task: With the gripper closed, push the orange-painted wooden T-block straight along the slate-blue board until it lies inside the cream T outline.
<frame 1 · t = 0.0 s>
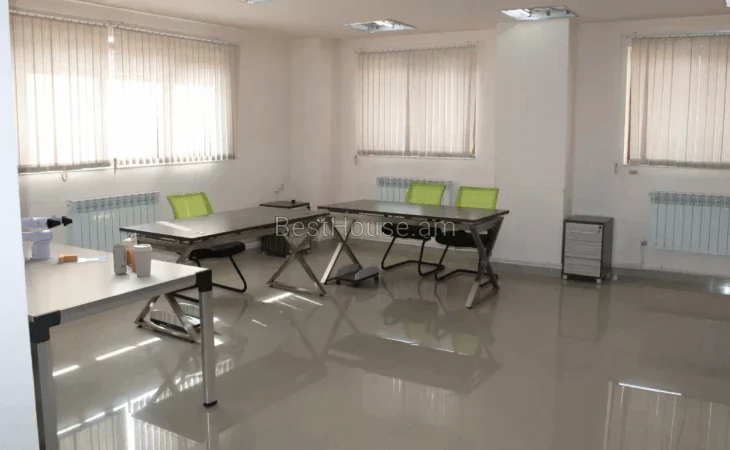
hand: (66, 222, 355), 22 cm above the table, tool horizontal, fingers open, 7 cm apart
energy drink can: (120, 274, 330), on the table
board: (80, 261, 360), on the table
t block: (68, 260, 358), resting on board
coffee cup: (143, 275, 327), on the table
arch: (134, 268, 344), on the table
ink cartridge box: (130, 260, 364), on the table
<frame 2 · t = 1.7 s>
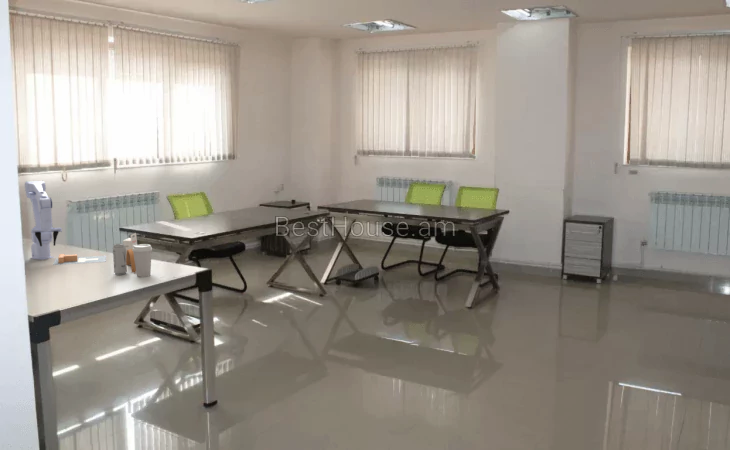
hand: (47, 245, 353), 9 cm above the table, tool pointing down, fingers open, 6 cm apart
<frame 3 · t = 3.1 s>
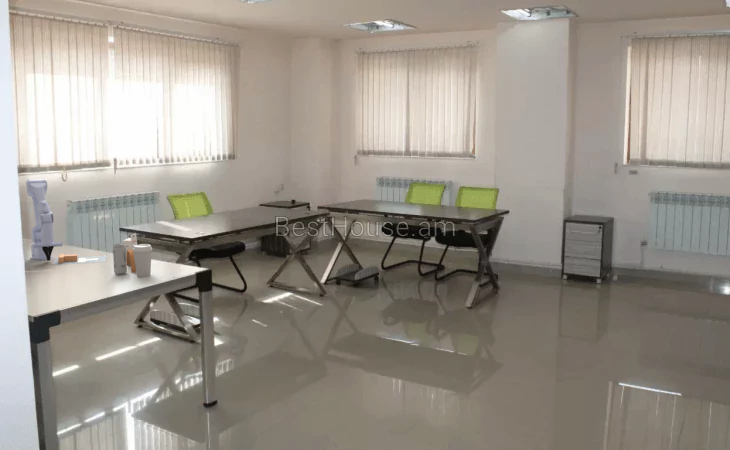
hand: (48, 260, 354), 1 cm above the table, tool pointing down, fingers closed
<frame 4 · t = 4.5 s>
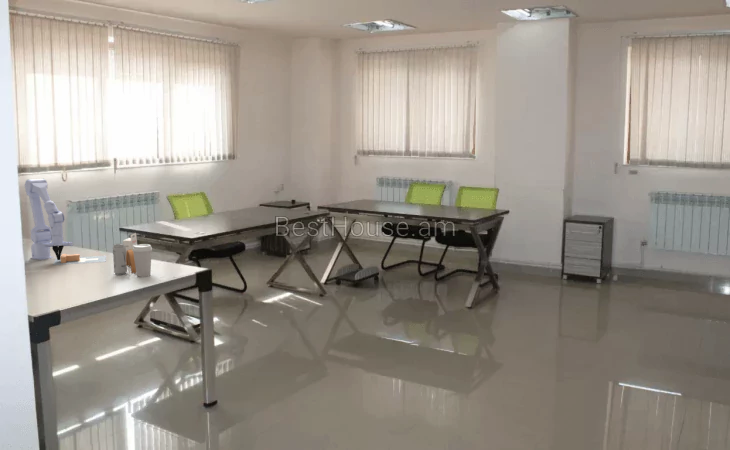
hand: (58, 259, 356), 1 cm above the table, tool pointing down, fingers closed
t block: (70, 260, 358), point 1 cm above the table
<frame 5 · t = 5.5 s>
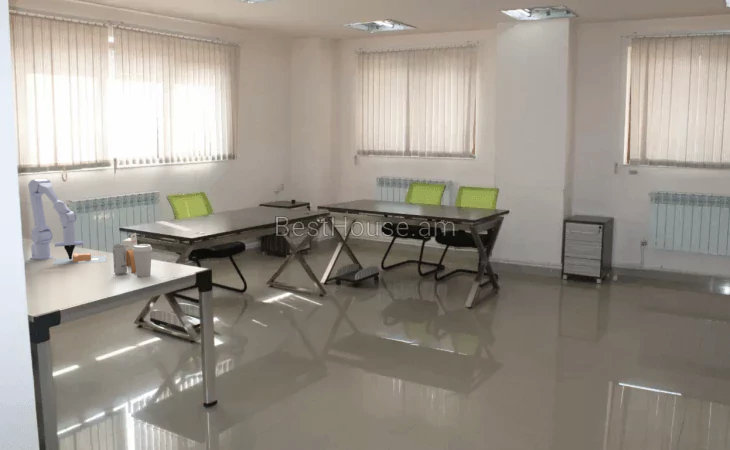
hand: (70, 259, 358), 1 cm above the table, tool pointing down, fingers closed
t block: (82, 259, 361), point 1 cm above the table, touching board, gripper
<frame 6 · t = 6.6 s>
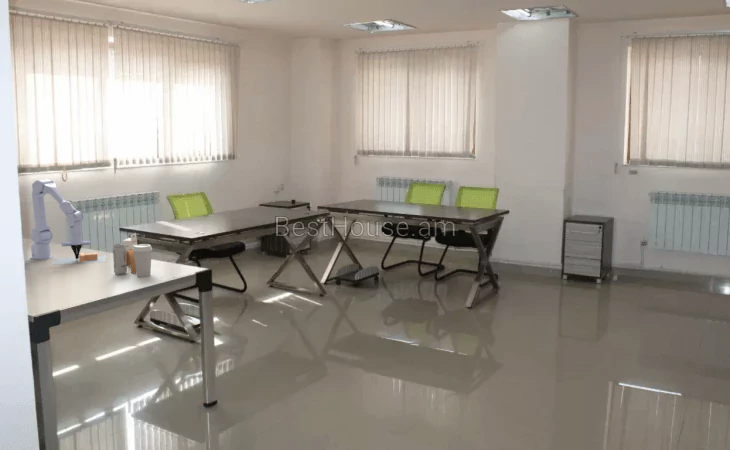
hand: (77, 258, 359), 1 cm above the table, tool pointing down, fingers closed
t block: (88, 259, 362), point 1 cm above the table, touching gripper
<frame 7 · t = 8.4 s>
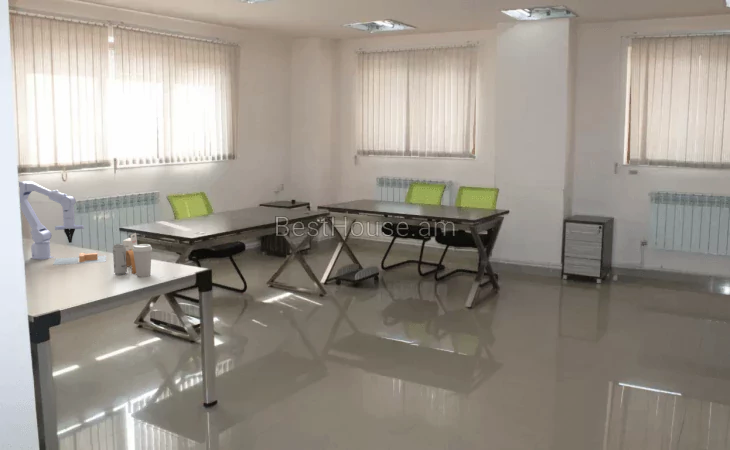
hand: (70, 242, 364), 9 cm above the table, tool pointing down, fingers closed
t block: (88, 259, 362), resting on board
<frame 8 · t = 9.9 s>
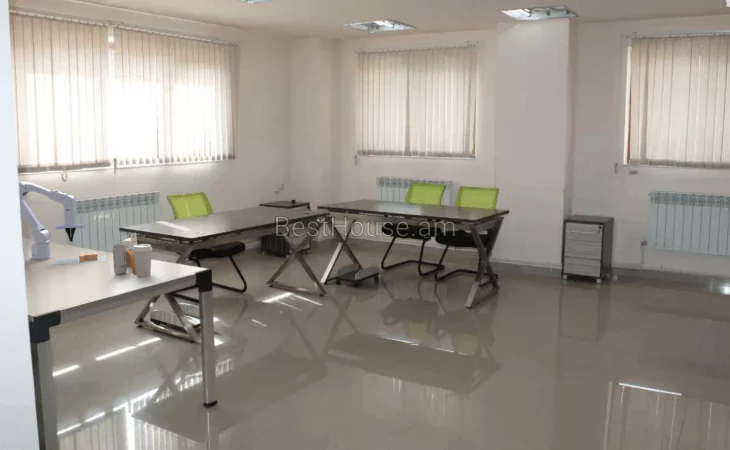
hand: (71, 241, 367), 9 cm above the table, tool pointing down, fingers closed
at the end: t block 0.4 cm from the target spot on the board, point 0.5 cm above the board's base; t block tilted 0° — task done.
